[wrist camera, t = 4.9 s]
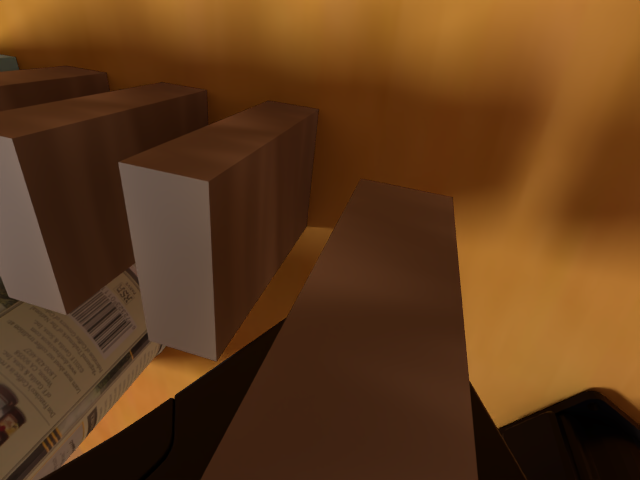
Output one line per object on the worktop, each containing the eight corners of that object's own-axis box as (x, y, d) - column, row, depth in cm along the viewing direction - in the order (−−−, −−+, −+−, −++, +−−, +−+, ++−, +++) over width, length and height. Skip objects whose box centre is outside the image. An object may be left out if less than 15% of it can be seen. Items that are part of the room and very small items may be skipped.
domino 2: (318, 109, 14) (208, 181, 7) (306, 226, 16) (216, 361, 10) (268, 100, 14) (118, 161, 8) (264, 216, 17) (148, 340, 10)
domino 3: (206, 90, 15) (11, 138, 8) (211, 204, 17) (66, 315, 11) (161, 82, 15) (-62, 122, 8) (172, 195, 18) (9, 297, 11)
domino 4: (106, 72, 16) (-148, 103, 9) (125, 184, 18) (-61, 275, 11) (65, 65, 16) (-208, 90, 9) (89, 176, 18) (-111, 260, 12)
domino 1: (452, 197, 8) (534, 1102, 1) (400, 360, 10) (334, 947, 4) (360, 178, 8) (29, 800, 2) (332, 340, 11) (158, 845, 4)
